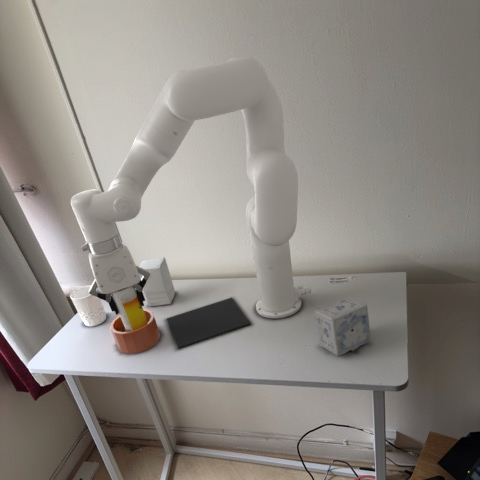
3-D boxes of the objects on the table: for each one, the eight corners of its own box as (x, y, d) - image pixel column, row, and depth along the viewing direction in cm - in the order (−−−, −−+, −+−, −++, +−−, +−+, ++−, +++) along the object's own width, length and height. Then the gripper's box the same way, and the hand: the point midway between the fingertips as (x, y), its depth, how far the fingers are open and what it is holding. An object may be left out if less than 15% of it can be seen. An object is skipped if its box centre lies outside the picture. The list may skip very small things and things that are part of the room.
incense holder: (348, 328, 103) (347, 291, 98) (372, 344, 97) (372, 306, 91) (315, 343, 101) (312, 306, 95) (337, 361, 94) (335, 322, 88)
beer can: (155, 328, 114) (137, 280, 106) (142, 342, 110) (123, 293, 102) (137, 326, 117) (119, 279, 109) (124, 339, 113) (104, 291, 105)
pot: (156, 323, 120) (150, 304, 117) (163, 344, 111) (156, 324, 107) (116, 336, 118) (108, 317, 115) (120, 359, 109) (112, 338, 105)
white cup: (84, 330, 124) (72, 302, 118) (80, 319, 130) (68, 291, 124) (110, 320, 126) (99, 292, 121) (105, 310, 132) (94, 282, 127)
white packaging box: (176, 292, 134) (165, 256, 128) (170, 304, 128) (159, 267, 122) (154, 294, 136) (143, 259, 129) (147, 306, 130) (135, 270, 123)
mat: (231, 299, 125) (231, 297, 125) (250, 324, 112) (250, 323, 112) (166, 319, 121) (166, 318, 121) (178, 349, 108) (178, 347, 108)
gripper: (68, 260, 95) (97, 326, 104) (142, 238, 98) (164, 303, 108) (68, 249, 101) (96, 312, 111) (138, 229, 104) (159, 291, 114)
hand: (129, 307), depth 109 cm, fingers closed on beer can, 6 cm apart
